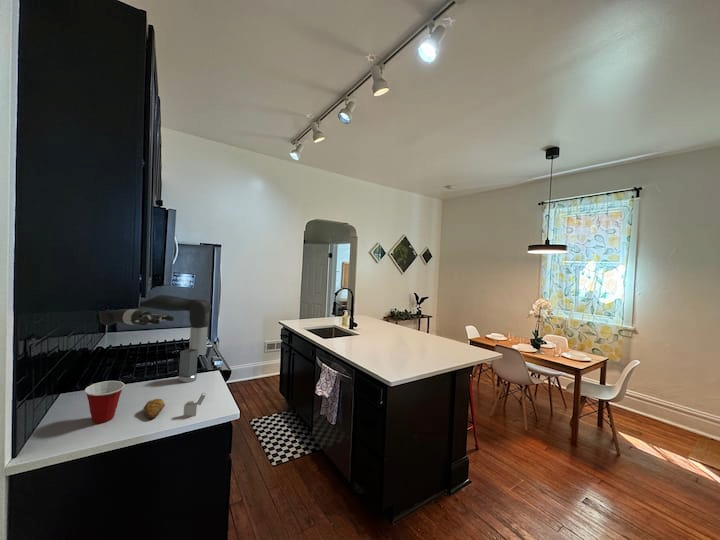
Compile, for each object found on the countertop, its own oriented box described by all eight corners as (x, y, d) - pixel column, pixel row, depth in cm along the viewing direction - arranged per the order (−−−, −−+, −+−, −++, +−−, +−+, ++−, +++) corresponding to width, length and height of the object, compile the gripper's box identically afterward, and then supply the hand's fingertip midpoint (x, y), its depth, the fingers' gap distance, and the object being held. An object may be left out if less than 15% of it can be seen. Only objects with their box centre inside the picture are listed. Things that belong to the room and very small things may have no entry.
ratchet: (175, 370, 151) (176, 360, 151) (192, 368, 156) (192, 358, 156) (179, 384, 136) (179, 372, 136) (197, 381, 140) (198, 370, 140)
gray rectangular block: (179, 376, 139) (180, 351, 139) (187, 372, 144) (188, 348, 144) (188, 377, 138) (190, 352, 138) (196, 373, 143) (197, 349, 143)
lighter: (183, 417, 108) (184, 396, 108) (183, 415, 110) (185, 394, 110) (204, 414, 111) (206, 393, 111) (205, 412, 113) (206, 391, 113)
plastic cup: (99, 430, 97) (101, 394, 97) (74, 424, 99) (76, 390, 99) (130, 414, 108) (132, 382, 108) (107, 409, 110) (109, 378, 110)
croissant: (147, 405, 116) (148, 392, 115) (167, 402, 118) (168, 390, 118) (138, 422, 103) (139, 408, 103) (161, 419, 106) (162, 406, 106)
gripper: (149, 322, 151) (177, 325, 149) (123, 327, 137) (153, 331, 135) (149, 307, 151) (177, 310, 149) (123, 311, 137) (154, 314, 135)
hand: (166, 320), depth 142 cm, fingers open, 8 cm apart
